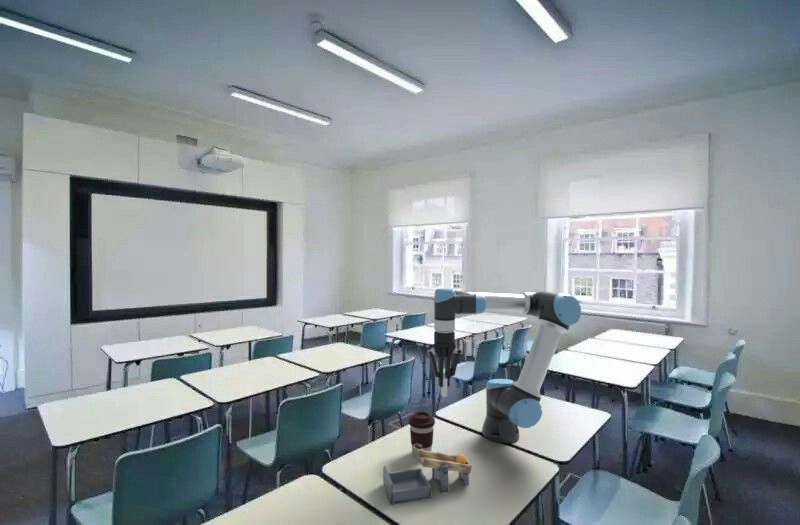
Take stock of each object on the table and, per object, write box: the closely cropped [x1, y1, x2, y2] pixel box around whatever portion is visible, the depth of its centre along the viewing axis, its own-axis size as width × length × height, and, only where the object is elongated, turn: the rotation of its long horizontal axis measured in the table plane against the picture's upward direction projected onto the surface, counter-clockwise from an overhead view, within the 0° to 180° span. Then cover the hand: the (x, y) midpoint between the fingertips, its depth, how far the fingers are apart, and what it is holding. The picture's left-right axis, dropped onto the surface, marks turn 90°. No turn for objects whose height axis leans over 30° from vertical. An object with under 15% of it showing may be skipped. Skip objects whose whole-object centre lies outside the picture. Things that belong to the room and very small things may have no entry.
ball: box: [456, 453, 468, 464], centre depth 126 cm, size 4×4×4 cm
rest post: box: [458, 472, 470, 486], centre depth 126 cm, size 2×5×4 cm, turn 14°
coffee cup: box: [408, 411, 436, 459], centre depth 143 cm, size 10×10×15 cm
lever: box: [413, 443, 473, 474], centre depth 128 cm, size 17×14×2 cm
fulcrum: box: [431, 451, 449, 494], centre depth 124 cm, size 2×10×8 cm, turn 14°
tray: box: [382, 465, 432, 505], centre depth 121 cm, size 13×11×6 cm
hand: (443, 395), depth 138 cm, fingers closed
